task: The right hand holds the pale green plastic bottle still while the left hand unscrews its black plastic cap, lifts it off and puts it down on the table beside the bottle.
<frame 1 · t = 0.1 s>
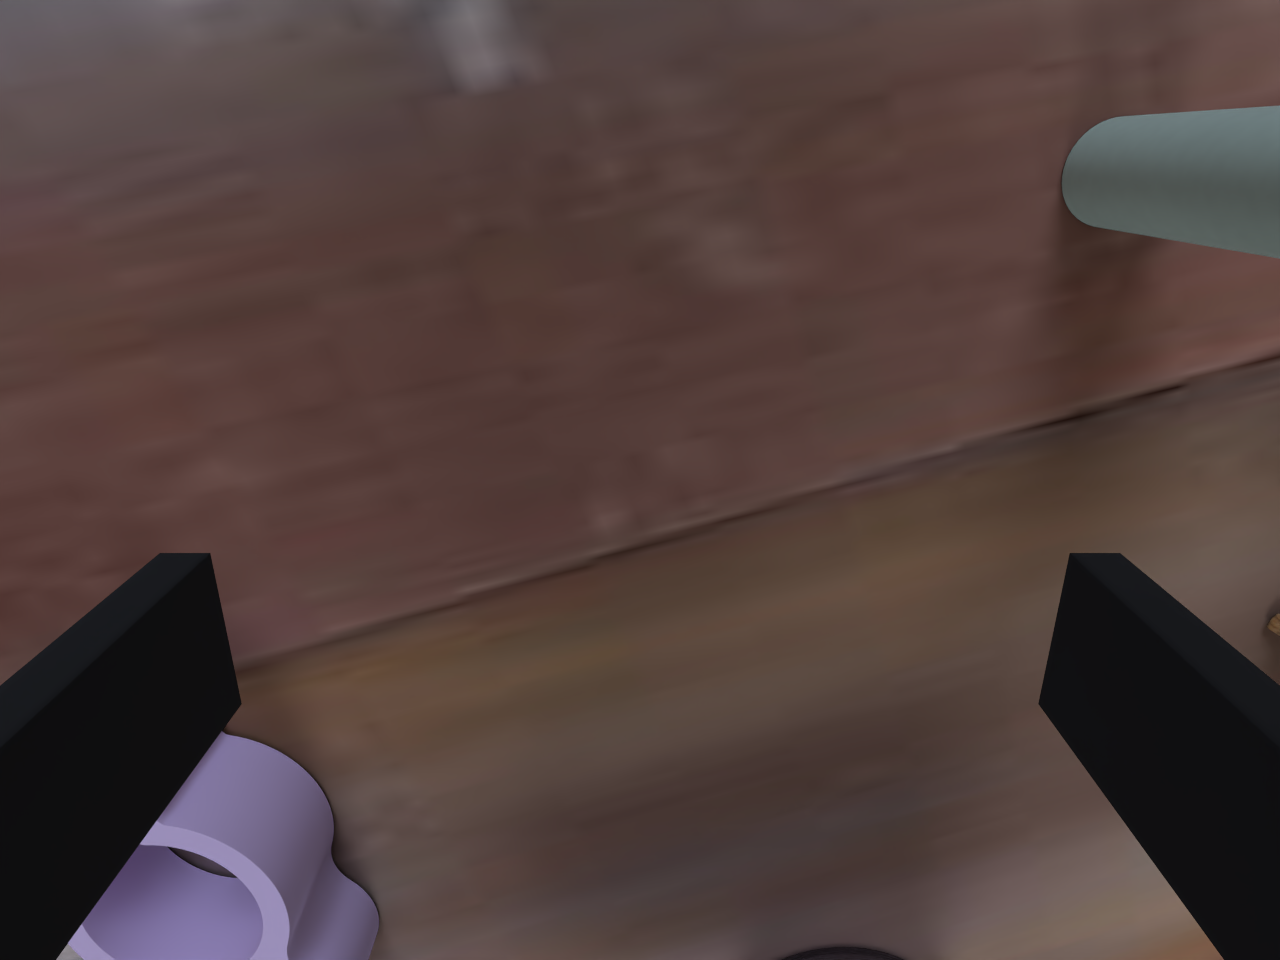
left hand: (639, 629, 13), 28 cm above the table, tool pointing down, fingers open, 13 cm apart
clip: (256, 845, 52), on the table
bottle: (1114, 173, 37), on the table
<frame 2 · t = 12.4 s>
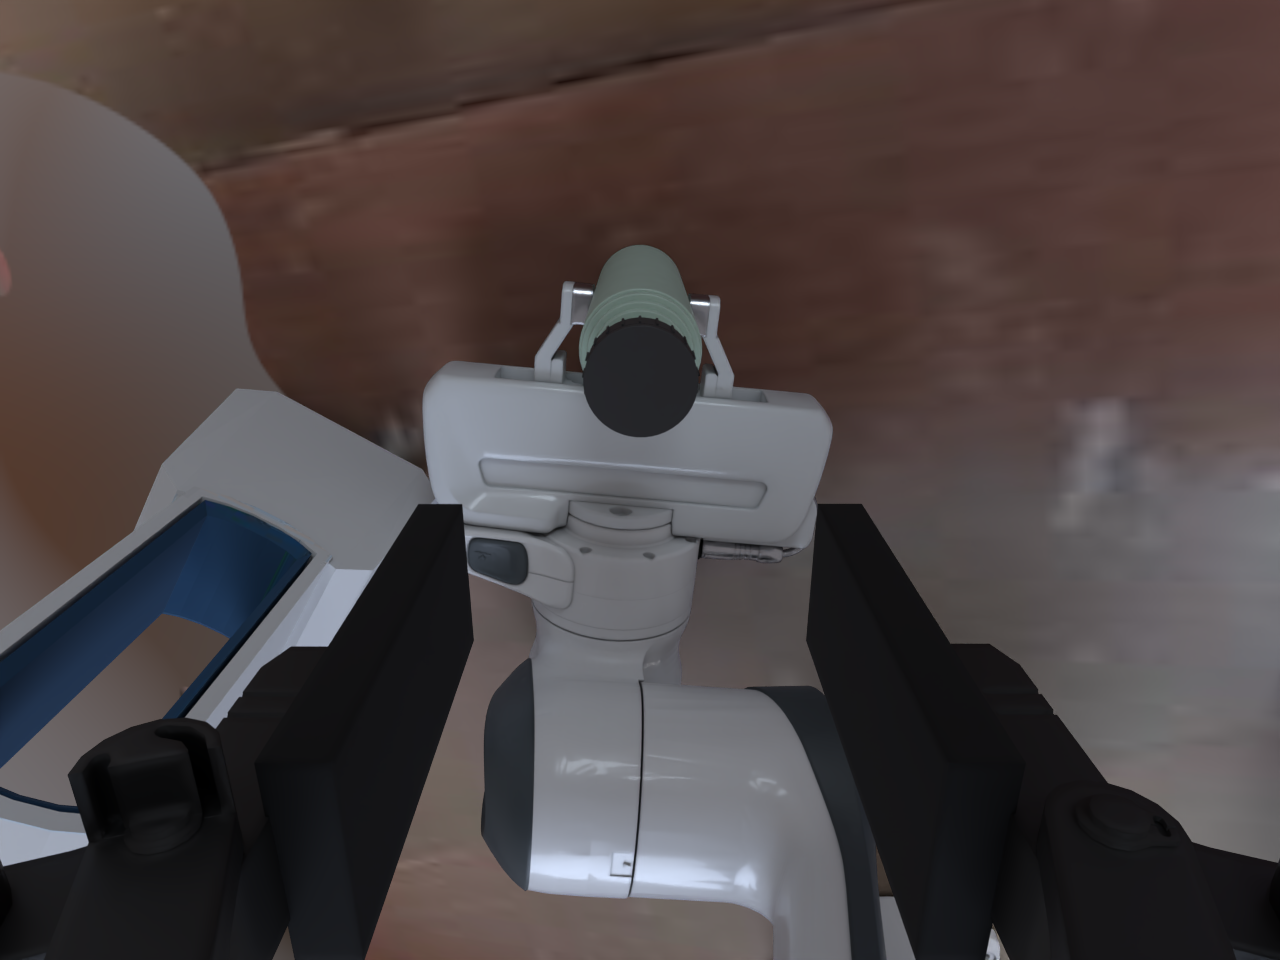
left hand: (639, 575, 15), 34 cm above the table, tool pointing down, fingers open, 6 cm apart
right hand: (641, 289, 40), fingers closed on bottle, 5 cm apart
bottle: (640, 288, 46), on the table, touching right hand
electronic device: (333, 474, 50), on the table
cap: (640, 380, 27), point 20 cm above the table, screwed on, not yet turned
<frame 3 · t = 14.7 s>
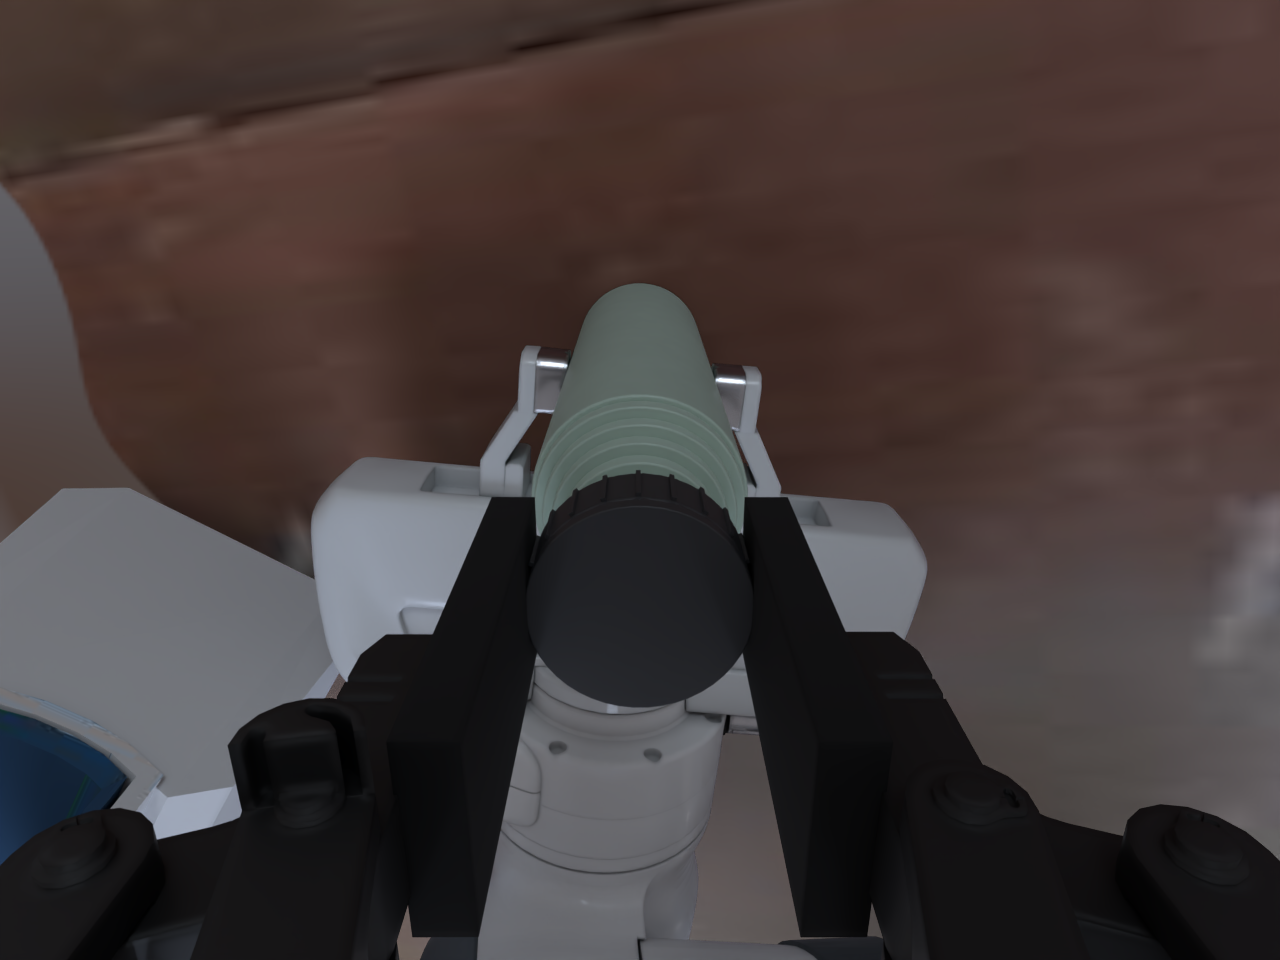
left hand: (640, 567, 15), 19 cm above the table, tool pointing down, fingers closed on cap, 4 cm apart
bottle: (639, 343, 33), on the table, touching right hand
electronic device: (219, 592, 37), on the table
cap: (639, 603, 14), point 20 cm above the table, screwed on, not yet turned, touching left hand
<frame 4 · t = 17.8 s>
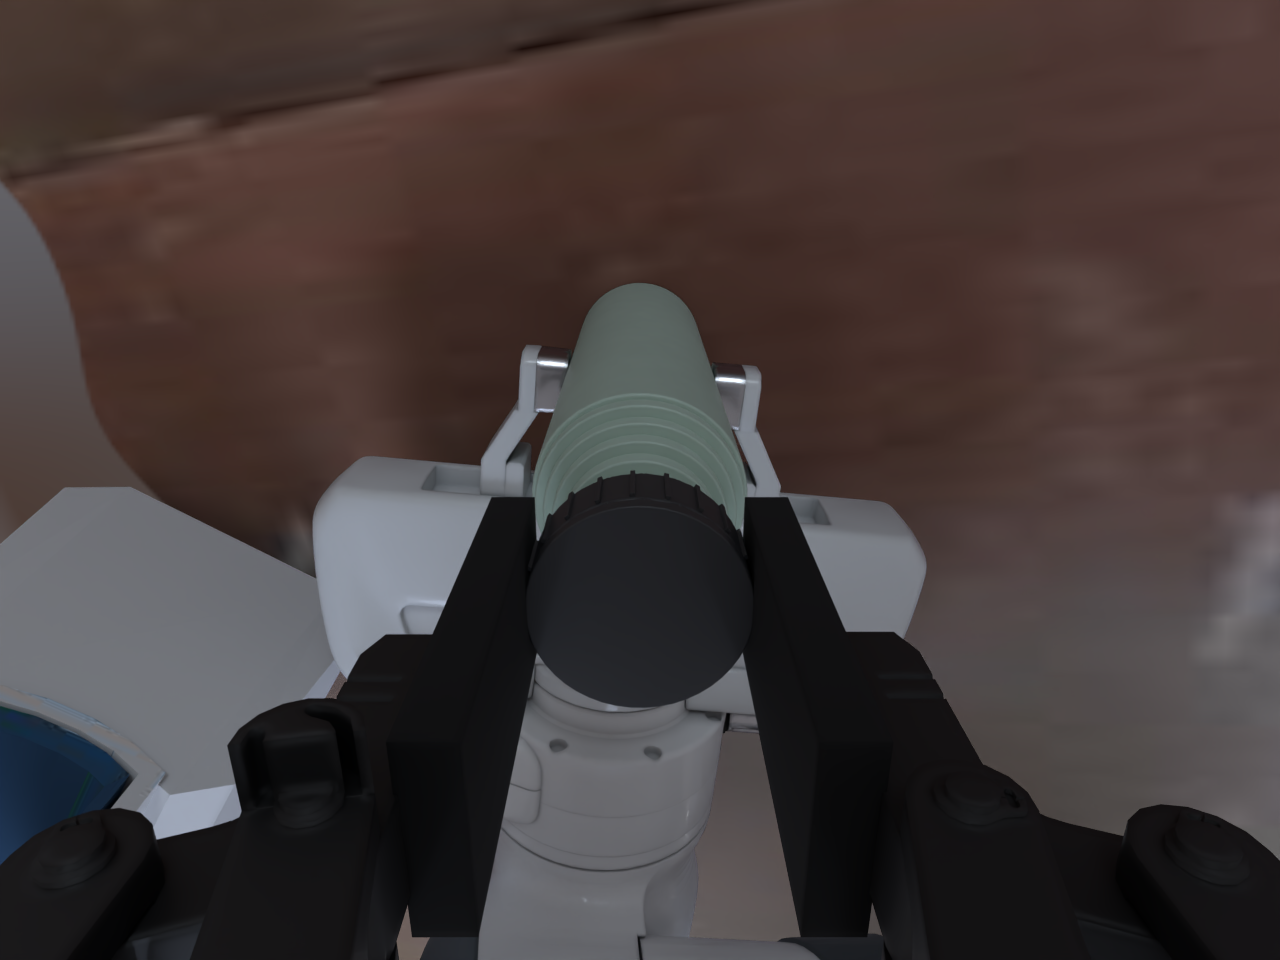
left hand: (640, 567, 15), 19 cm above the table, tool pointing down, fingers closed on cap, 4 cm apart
bottle: (639, 342, 33), on the table, touching right hand
electronic device: (220, 591, 37), on the table
cap: (639, 603, 14), point 20 cm above the table, turned 88° so far, risen 0.1 cm, still on its thread, touching left hand
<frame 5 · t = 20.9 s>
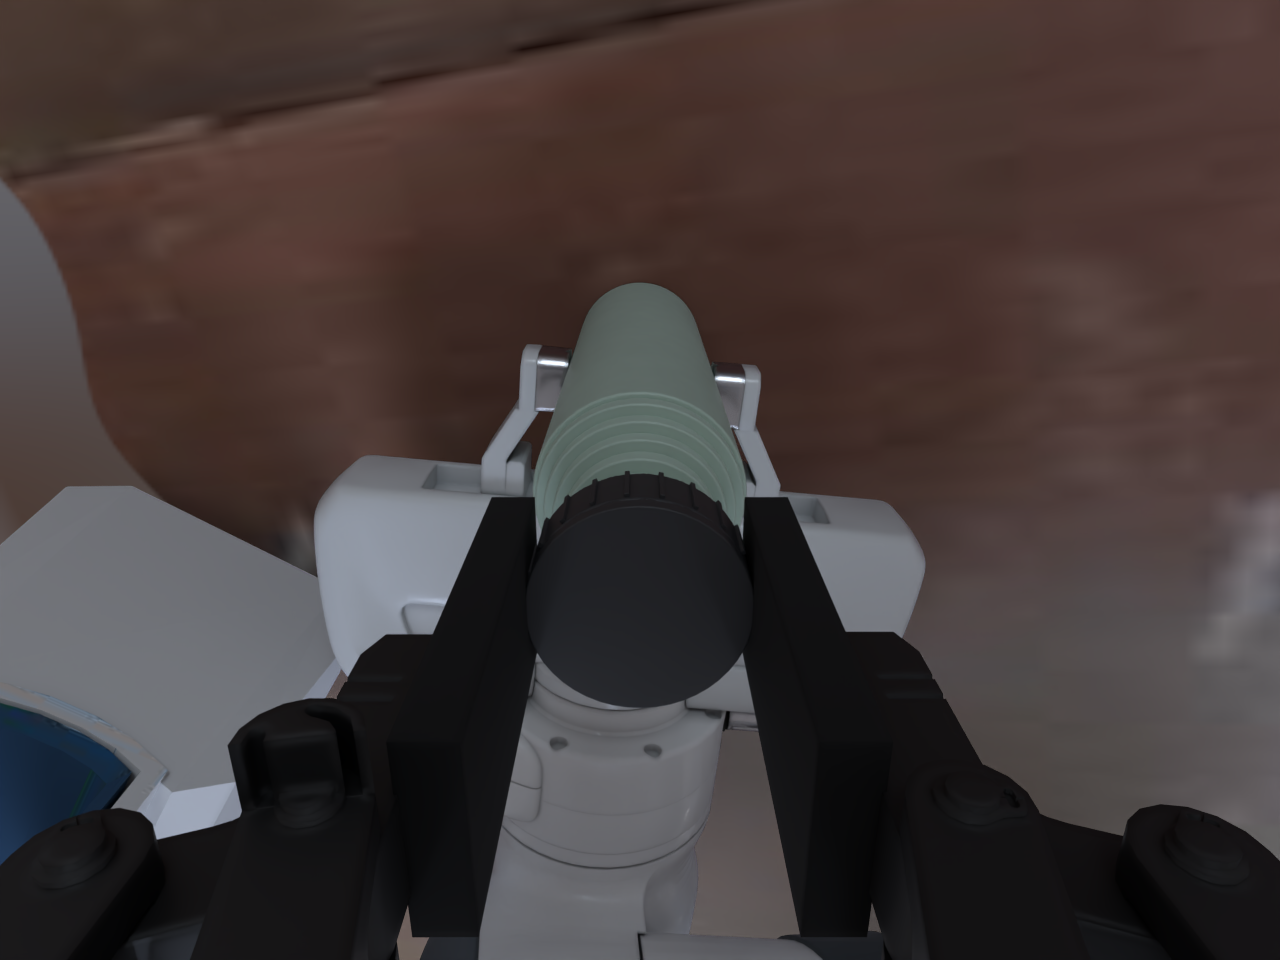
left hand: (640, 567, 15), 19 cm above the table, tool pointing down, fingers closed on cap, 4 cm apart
bottle: (639, 342, 33), on the table, touching right hand
electronic device: (221, 590, 37), on the table
cap: (639, 603, 14), point 21 cm above the table, turned 177° so far, risen 0.2 cm, still on its thread, touching left hand
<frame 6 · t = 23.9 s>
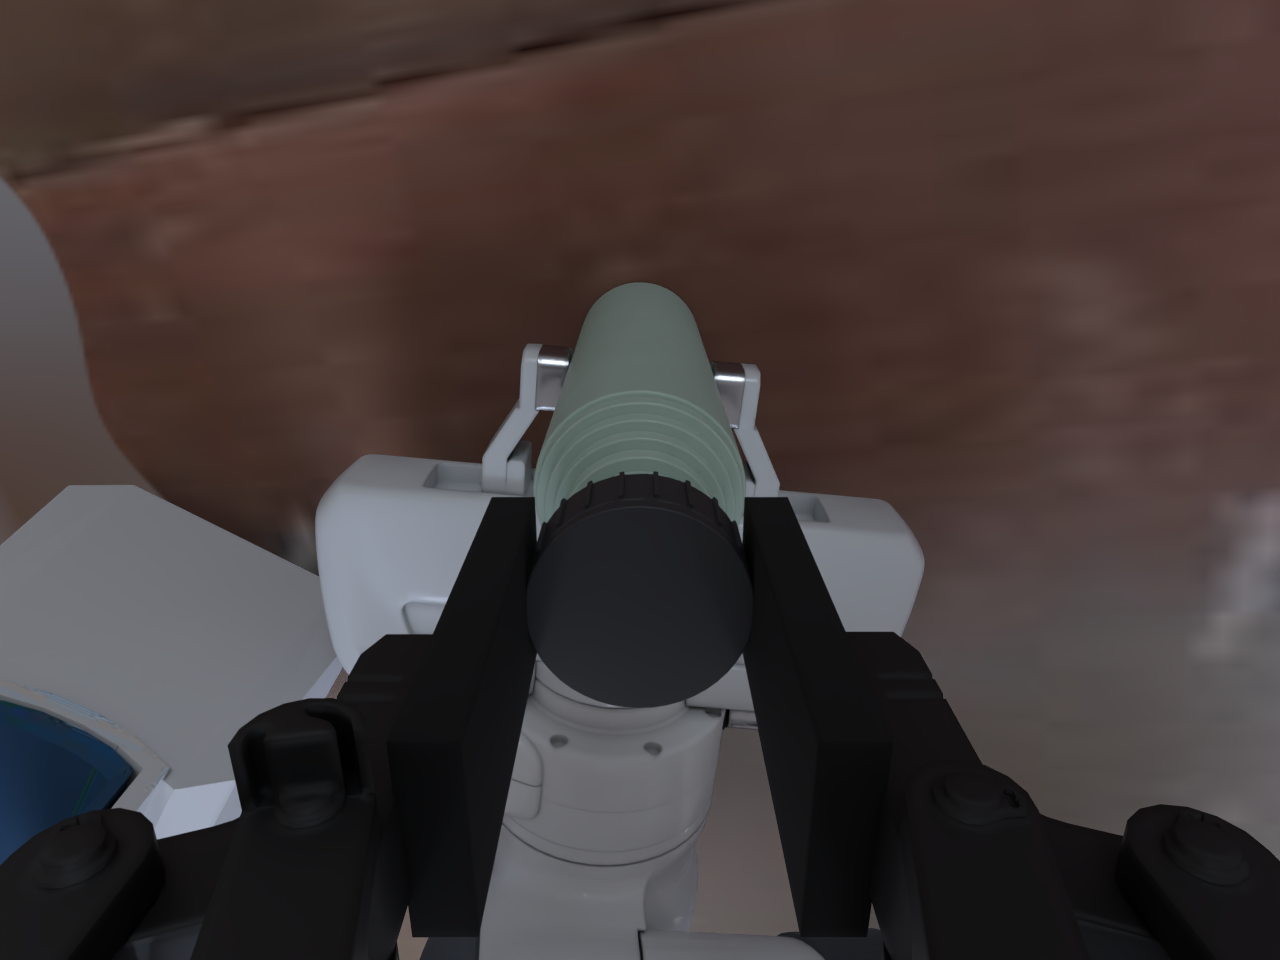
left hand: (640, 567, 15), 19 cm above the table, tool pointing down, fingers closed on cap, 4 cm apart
bottle: (639, 341, 33), on the table, touching right hand
electronic device: (222, 589, 37), on the table
cap: (639, 603, 14), point 21 cm above the table, turned 265° so far, risen 0.3 cm, still on its thread, touching left hand
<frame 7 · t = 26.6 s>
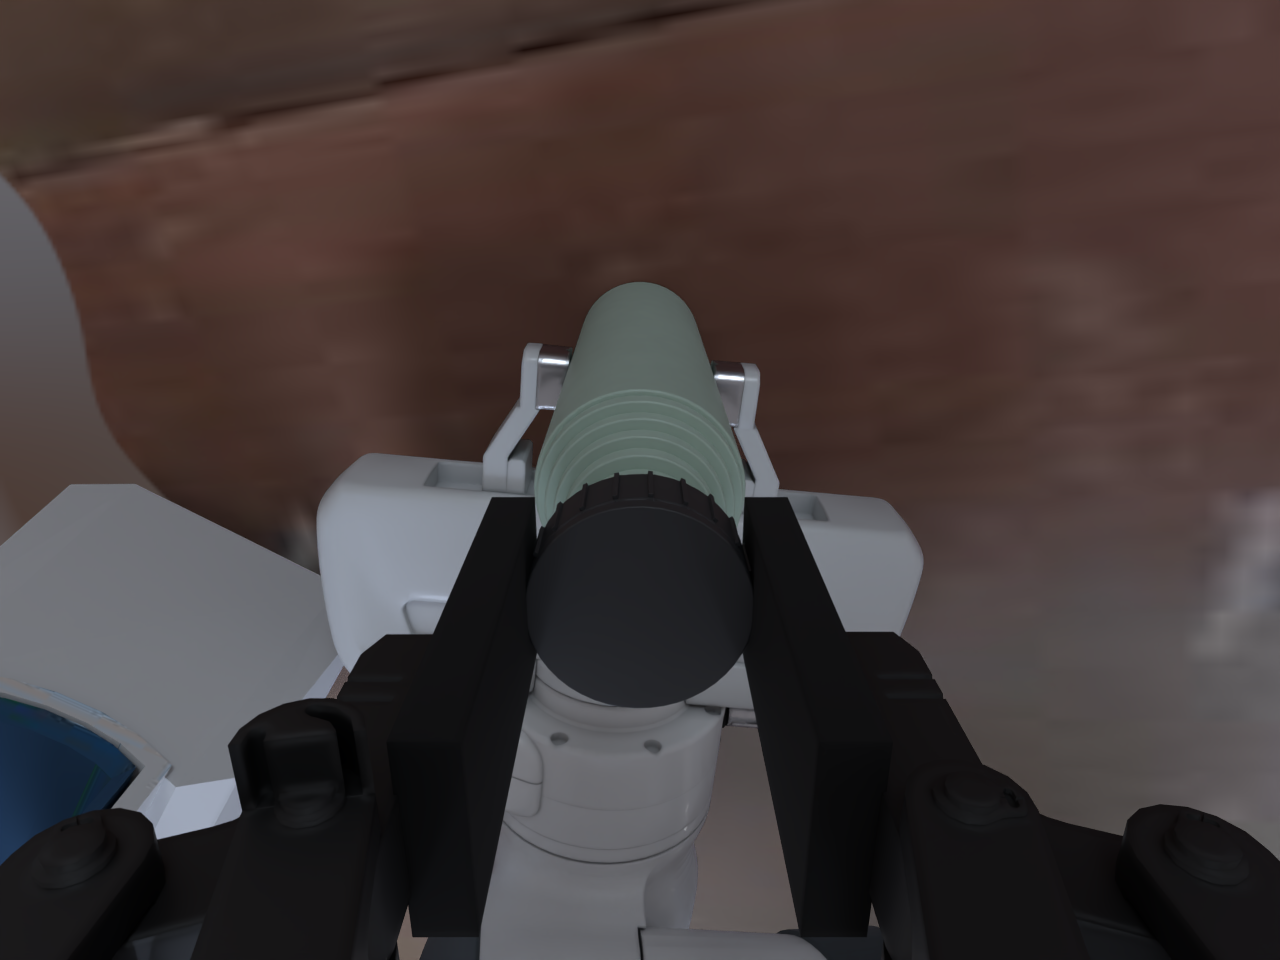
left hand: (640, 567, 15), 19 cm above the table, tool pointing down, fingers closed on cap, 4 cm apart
bottle: (639, 341, 33), on the table, touching right hand
electronic device: (224, 587, 37), on the table
cap: (639, 603, 14), point 21 cm above the table, turned 354° so far, risen 0.4 cm, still on its thread, touching left hand
when the left hand's fingers open (1 cm above the table, at t = 33.2 s): cap stays where it is, point 1 cm above the table.
when the right hand's fingers open (7 cm above the table, at t = 34.5 s): bottle stays where it is, on the table.
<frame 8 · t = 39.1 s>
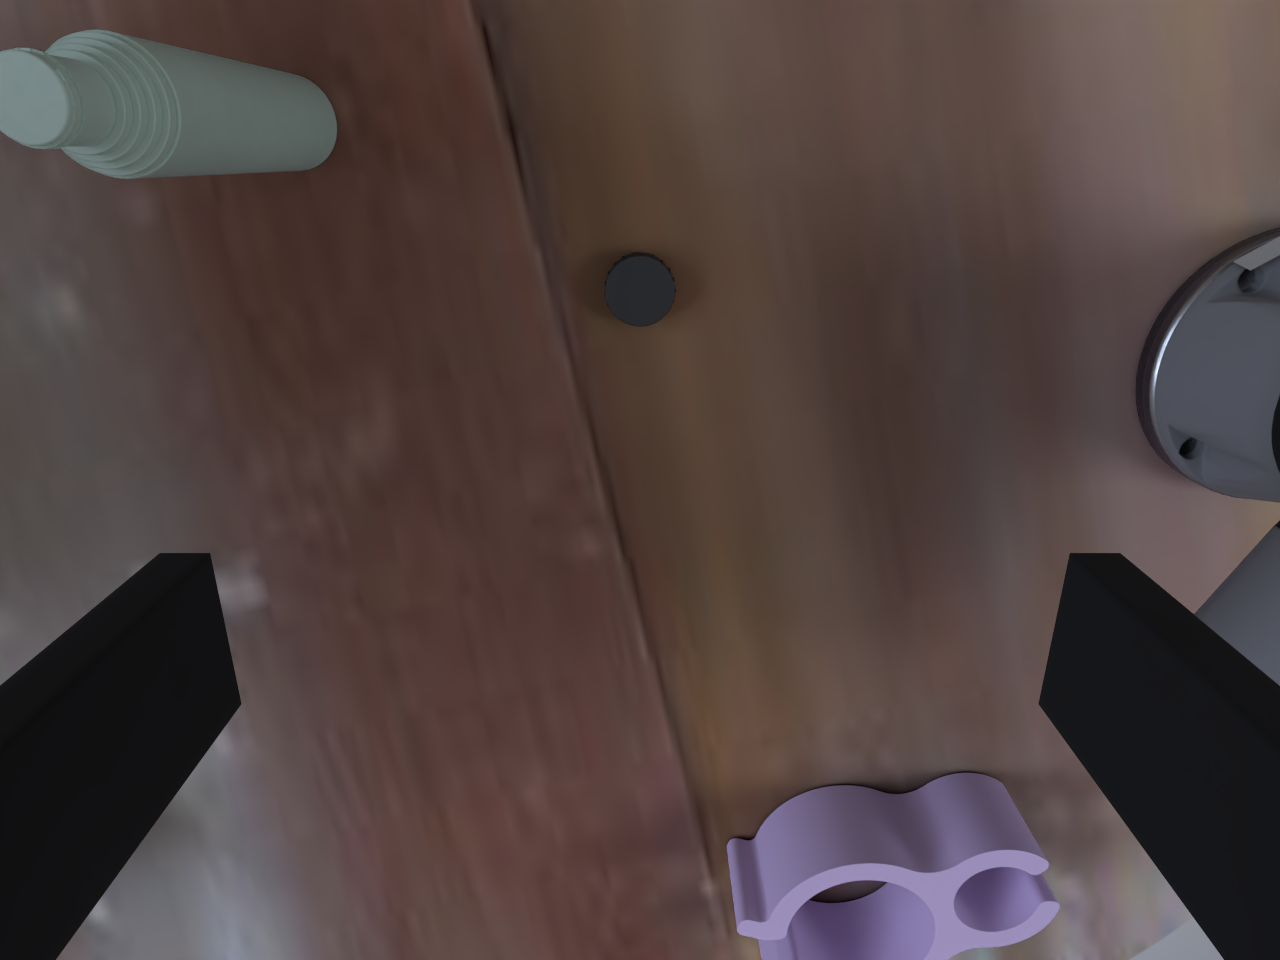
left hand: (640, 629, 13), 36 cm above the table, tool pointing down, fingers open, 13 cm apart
clip: (871, 841, 61), on the table
bottle: (292, 122, 43), on the table
cap: (640, 290, 45), point 1 cm above the table, off its thread
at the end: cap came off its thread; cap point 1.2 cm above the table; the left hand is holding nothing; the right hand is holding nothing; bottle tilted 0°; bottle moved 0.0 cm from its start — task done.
